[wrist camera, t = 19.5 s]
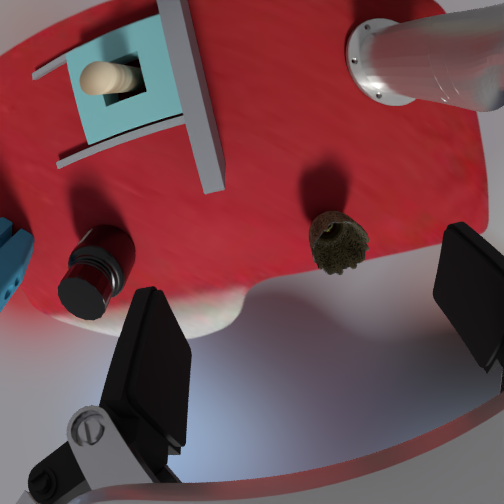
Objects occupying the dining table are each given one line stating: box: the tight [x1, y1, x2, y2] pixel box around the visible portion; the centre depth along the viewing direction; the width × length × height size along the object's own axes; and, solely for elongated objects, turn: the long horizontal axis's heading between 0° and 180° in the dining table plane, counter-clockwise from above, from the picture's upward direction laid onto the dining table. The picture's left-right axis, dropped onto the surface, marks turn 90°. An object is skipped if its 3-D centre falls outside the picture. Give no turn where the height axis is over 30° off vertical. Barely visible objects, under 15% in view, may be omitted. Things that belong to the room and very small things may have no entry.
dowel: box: [79, 61, 145, 95], centre depth 24 cm, size 3×3×12 cm
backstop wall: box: [32, 0, 226, 194], centre depth 25 cm, size 22×28×10 cm
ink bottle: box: [58, 225, 135, 320], centre depth 36 cm, size 10×9×12 cm
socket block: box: [66, 14, 183, 145], centre depth 27 cm, size 12×12×5 cm
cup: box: [309, 211, 369, 275], centre depth 38 cm, size 8×7×8 cm
